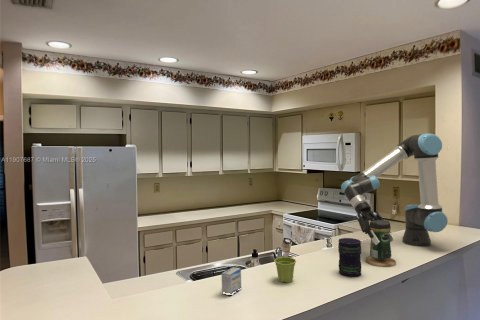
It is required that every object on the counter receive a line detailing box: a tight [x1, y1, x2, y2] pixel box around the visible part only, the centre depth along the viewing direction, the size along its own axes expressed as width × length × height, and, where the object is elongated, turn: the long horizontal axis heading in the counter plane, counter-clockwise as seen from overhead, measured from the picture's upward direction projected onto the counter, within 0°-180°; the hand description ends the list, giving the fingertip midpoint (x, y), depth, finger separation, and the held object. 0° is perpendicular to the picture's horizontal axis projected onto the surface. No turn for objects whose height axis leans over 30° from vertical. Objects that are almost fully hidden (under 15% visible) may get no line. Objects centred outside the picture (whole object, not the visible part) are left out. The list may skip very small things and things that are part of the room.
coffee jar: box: [369, 219, 392, 259], centre depth 160 cm, size 10×8×19 cm
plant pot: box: [273, 256, 297, 283], centre depth 139 cm, size 9×9×9 cm
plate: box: [364, 255, 397, 268], centre depth 160 cm, size 14×14×1 cm
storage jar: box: [337, 237, 362, 278], centre depth 146 cm, size 10×10×15 cm
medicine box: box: [221, 266, 242, 294], centre depth 128 cm, size 8×4×9 cm, turn 148°
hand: (385, 242), depth 157 cm, fingers closed on coffee jar, 9 cm apart
